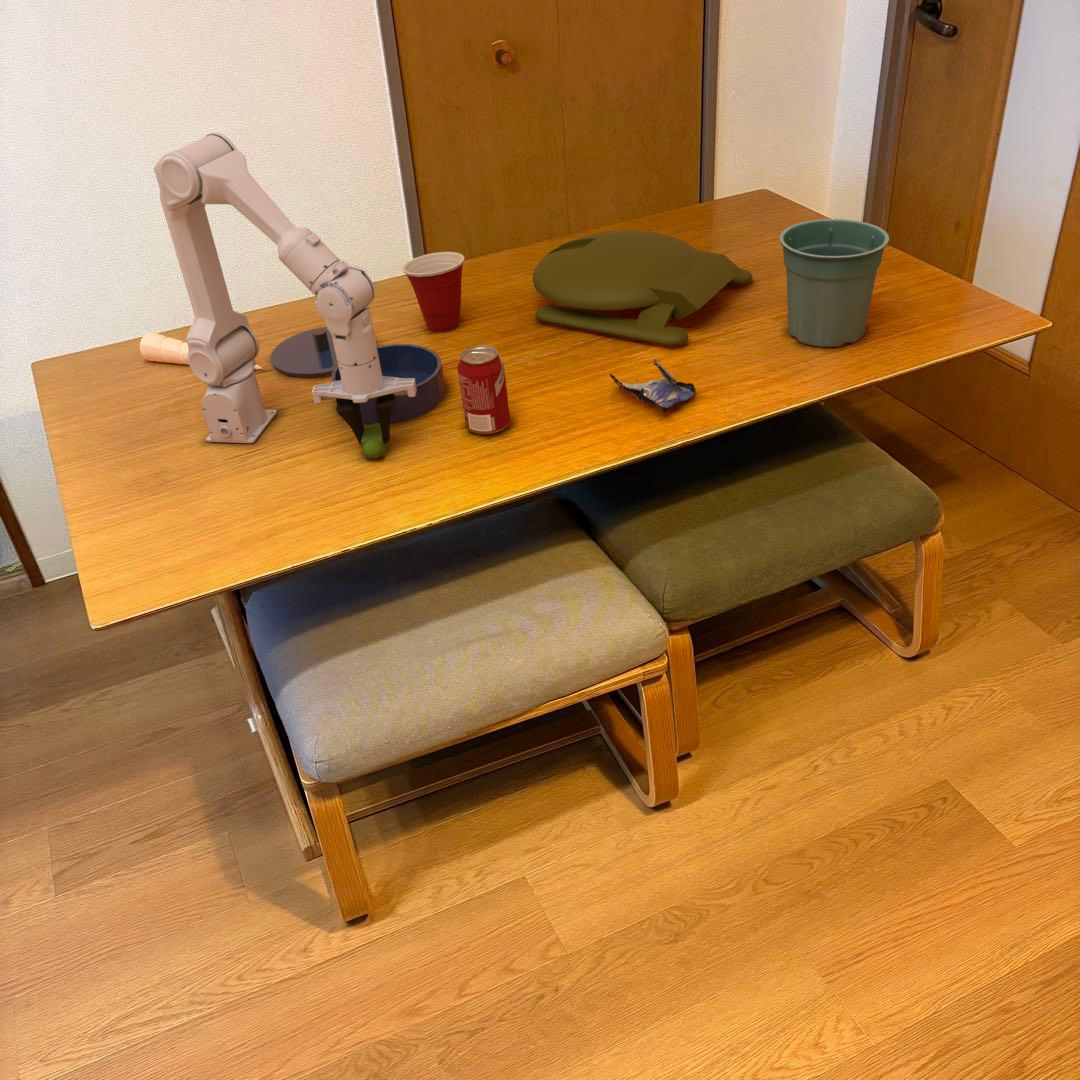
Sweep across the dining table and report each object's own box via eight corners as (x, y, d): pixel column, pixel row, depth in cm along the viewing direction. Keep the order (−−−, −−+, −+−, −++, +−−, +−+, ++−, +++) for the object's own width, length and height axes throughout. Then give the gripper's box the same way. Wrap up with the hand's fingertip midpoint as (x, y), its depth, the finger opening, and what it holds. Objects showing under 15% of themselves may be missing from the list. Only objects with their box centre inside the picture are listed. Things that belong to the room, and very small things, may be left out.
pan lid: (355, 380, 179) (350, 357, 176) (255, 378, 183) (248, 355, 180) (389, 331, 193) (385, 309, 190) (295, 330, 197) (290, 308, 194)
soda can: (494, 441, 159) (485, 368, 152) (457, 432, 162) (446, 359, 155) (519, 420, 164) (511, 347, 157) (482, 411, 167) (473, 340, 160)
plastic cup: (446, 306, 199) (436, 243, 192) (485, 321, 193) (477, 256, 186) (400, 328, 194) (388, 264, 186) (439, 344, 187) (428, 278, 180)
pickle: (383, 461, 157) (379, 445, 155) (362, 463, 157) (359, 446, 155) (389, 435, 163) (386, 418, 161) (370, 436, 163) (366, 420, 161)
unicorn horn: (250, 381, 182) (243, 355, 179) (141, 364, 191) (133, 339, 188) (267, 368, 185) (260, 342, 182) (160, 352, 194) (151, 327, 192)
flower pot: (826, 301, 187) (833, 209, 178) (901, 332, 175) (912, 235, 166) (754, 331, 180) (757, 237, 171) (826, 365, 169) (834, 266, 159)
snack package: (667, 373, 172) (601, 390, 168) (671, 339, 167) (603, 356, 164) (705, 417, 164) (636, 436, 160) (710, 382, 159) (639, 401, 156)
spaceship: (756, 280, 196) (758, 227, 191) (680, 353, 176) (679, 296, 171) (589, 255, 213) (586, 205, 207) (502, 318, 193) (495, 266, 187)
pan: (427, 426, 165) (422, 397, 162) (321, 423, 168) (315, 394, 165) (457, 372, 178) (453, 344, 175) (359, 370, 182) (353, 343, 179)
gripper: (300, 374, 148) (320, 458, 156) (405, 366, 147) (420, 451, 155) (310, 350, 154) (329, 433, 162) (411, 343, 153) (425, 426, 161)
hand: (374, 440), depth 159 cm, fingers closed on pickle, 3 cm apart
